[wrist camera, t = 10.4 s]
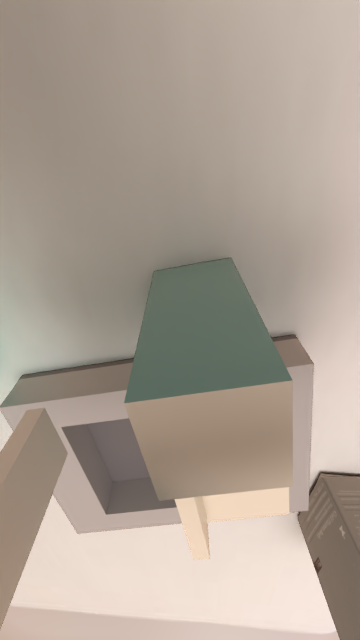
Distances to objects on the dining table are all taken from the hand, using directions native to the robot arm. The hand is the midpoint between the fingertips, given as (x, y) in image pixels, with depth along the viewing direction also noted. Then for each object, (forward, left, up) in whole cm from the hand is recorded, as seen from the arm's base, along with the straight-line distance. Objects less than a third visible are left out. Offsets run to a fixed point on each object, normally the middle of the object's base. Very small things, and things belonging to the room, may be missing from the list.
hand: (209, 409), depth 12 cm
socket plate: (+12, -4, -10) cm, 16 cm away
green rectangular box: (0, 0, -10) cm, 10 cm away
